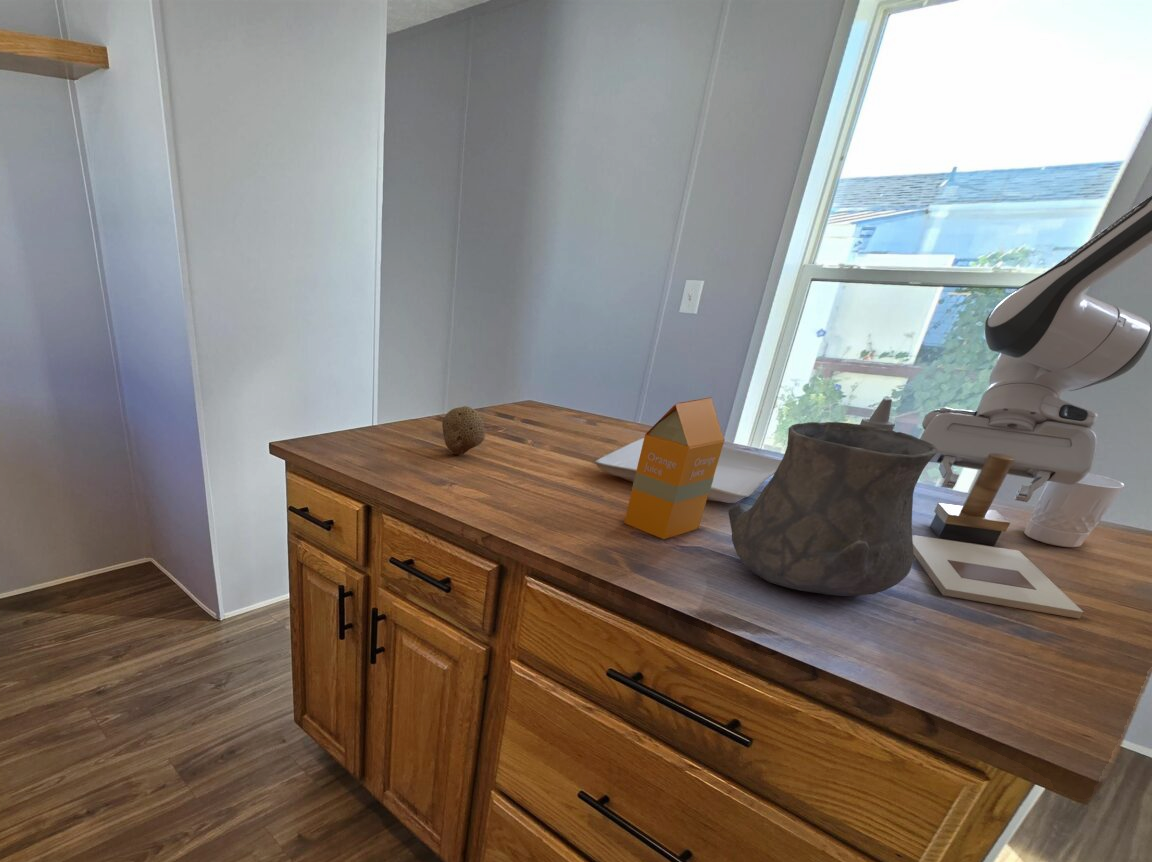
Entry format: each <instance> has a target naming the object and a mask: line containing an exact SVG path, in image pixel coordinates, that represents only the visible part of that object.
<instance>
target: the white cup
mask: <svg viewBox="0 0 1152 862" xmlns="http://www.w3.org/2000/svg"><path fill="white" fill-rule="evenodd" d="M1125 486H1126V485H1125V484H1124V483H1123V482H1122V481H1120V480H1118V479H1114V478H1111V477H1109V476H1104V475H1100V474H1096V473H1091V472H1089V473H1088V474H1087V475H1086V476H1085V477H1084V478H1083V479H1082V480H1081V481H1079V482H1077V483H1075V484H1071V485H1070V484H1063V483H1057V482H1051V481H1046V484H1045V485H1044V488H1043V490H1042V492H1041V495H1040V496H1039V498H1038V500H1037V501H1036V504H1035V507H1034V509H1033V511H1032V513H1031V514H1030V515H1031V517H1030V520H1029V522H1028V524H1027V525H1026V527H1025V529H1024V532H1023V533H1024V534H1025V535H1026V537H1028V538H1031V539H1033V540H1035V541H1037V542H1040V543H1044V544H1048V545H1052V546H1057V547H1065V548H1079V547H1081V546H1082V545H1083V543H1084V542H1085V541H1086V539H1087V537H1088V536H1089V535H1090V534H1091V532H1093V531H1094V530H1095V528H1096V526H1098V524H1099V523H1100V522H1101V520H1102V518H1103V517H1104V516H1105V515H1106V514H1107V513H1108V510H1109V509H1110V508H1111V506H1112V505H1113V503H1114V502H1115V500H1116V499H1117V498H1118V496H1119V495H1120V494H1121V492H1122V491H1123V489H1124V488H1125Z"/></svg>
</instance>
